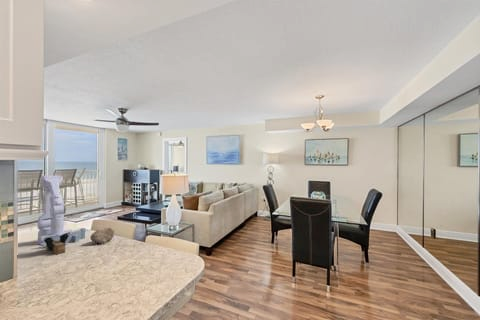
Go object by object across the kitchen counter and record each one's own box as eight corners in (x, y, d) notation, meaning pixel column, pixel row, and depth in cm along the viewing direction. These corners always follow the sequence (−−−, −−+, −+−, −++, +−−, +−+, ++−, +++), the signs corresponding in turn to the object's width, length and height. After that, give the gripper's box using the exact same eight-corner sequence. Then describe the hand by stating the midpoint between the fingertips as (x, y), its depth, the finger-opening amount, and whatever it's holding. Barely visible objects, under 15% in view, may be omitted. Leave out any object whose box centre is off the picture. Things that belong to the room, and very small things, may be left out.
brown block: (46, 250, 123) (46, 241, 124) (53, 248, 127) (53, 240, 127) (57, 254, 118) (58, 245, 118) (65, 252, 121) (65, 243, 121)
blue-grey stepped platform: (48, 247, 128) (48, 236, 129) (83, 237, 146) (83, 227, 146) (52, 248, 126) (52, 237, 126) (87, 238, 144) (87, 228, 144)
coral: (98, 247, 131) (92, 232, 131) (91, 249, 135) (85, 234, 135) (119, 237, 143) (114, 223, 143) (112, 239, 147) (107, 226, 147)
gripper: (45, 229, 114) (43, 254, 114) (75, 223, 128) (74, 246, 127) (38, 228, 117) (37, 252, 117) (68, 222, 131) (67, 244, 130)
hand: (56, 249), depth 122 cm, fingers open, 5 cm apart
